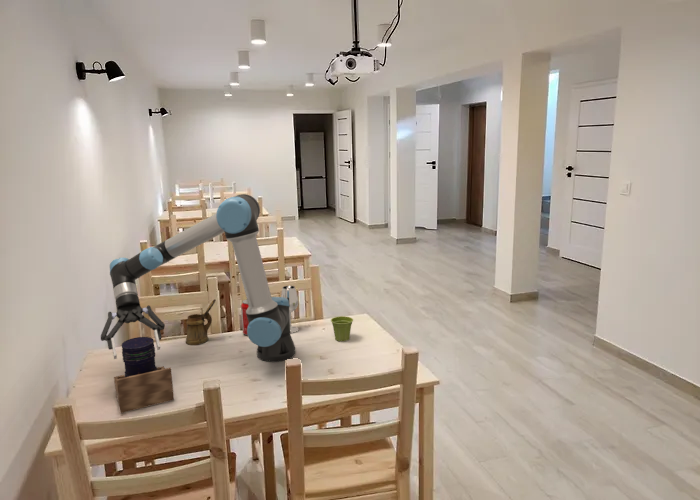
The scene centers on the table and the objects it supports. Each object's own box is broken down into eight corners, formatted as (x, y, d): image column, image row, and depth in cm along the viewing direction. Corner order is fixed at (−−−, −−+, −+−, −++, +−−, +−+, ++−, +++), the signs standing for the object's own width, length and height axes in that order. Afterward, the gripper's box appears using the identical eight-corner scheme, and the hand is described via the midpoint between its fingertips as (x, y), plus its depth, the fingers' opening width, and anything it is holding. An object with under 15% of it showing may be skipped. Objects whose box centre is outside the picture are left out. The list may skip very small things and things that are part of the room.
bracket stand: (165, 380, 176) (162, 351, 174) (174, 399, 162) (171, 368, 160) (115, 392, 168) (112, 361, 166) (120, 413, 154) (116, 380, 152)
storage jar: (125, 394, 158) (120, 350, 155) (126, 381, 167) (121, 339, 164) (158, 388, 162) (154, 345, 159) (157, 375, 171) (153, 334, 167)
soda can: (239, 333, 219) (237, 301, 216) (253, 328, 225) (251, 297, 222) (249, 338, 214) (247, 304, 211) (264, 333, 219) (262, 300, 216)
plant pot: (333, 334, 216) (332, 315, 215) (354, 335, 215) (354, 316, 213) (329, 342, 207) (329, 323, 206) (351, 343, 206) (351, 324, 204)
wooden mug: (218, 343, 209) (215, 302, 205) (184, 346, 206) (180, 304, 203) (219, 335, 217) (216, 296, 214) (187, 338, 215) (183, 298, 211)
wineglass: (279, 333, 219) (277, 289, 215) (284, 326, 227) (282, 284, 223) (296, 333, 218) (294, 290, 214) (301, 327, 225) (299, 285, 221)
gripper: (163, 297, 184) (175, 349, 175) (87, 309, 172) (96, 365, 162) (164, 287, 179) (177, 340, 169) (86, 298, 166) (95, 356, 157)
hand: (137, 352), depth 166 cm, fingers open, 13 cm apart
